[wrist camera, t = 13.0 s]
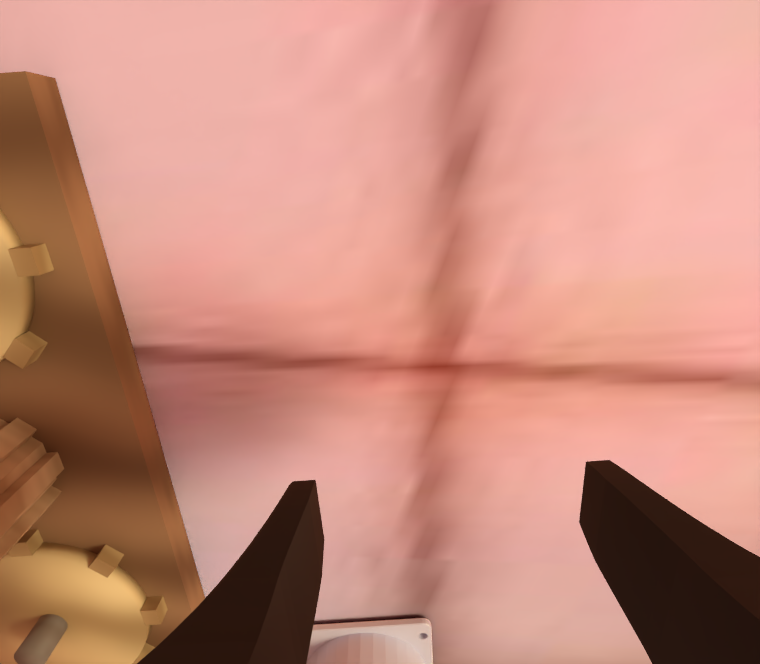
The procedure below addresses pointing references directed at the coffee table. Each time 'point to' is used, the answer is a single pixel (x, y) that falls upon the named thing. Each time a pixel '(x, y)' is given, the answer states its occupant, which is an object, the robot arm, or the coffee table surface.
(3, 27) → the coffee table surface
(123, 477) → the gear board
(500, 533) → the coffee table surface
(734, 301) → the coffee table surface
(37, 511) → the maple gear
